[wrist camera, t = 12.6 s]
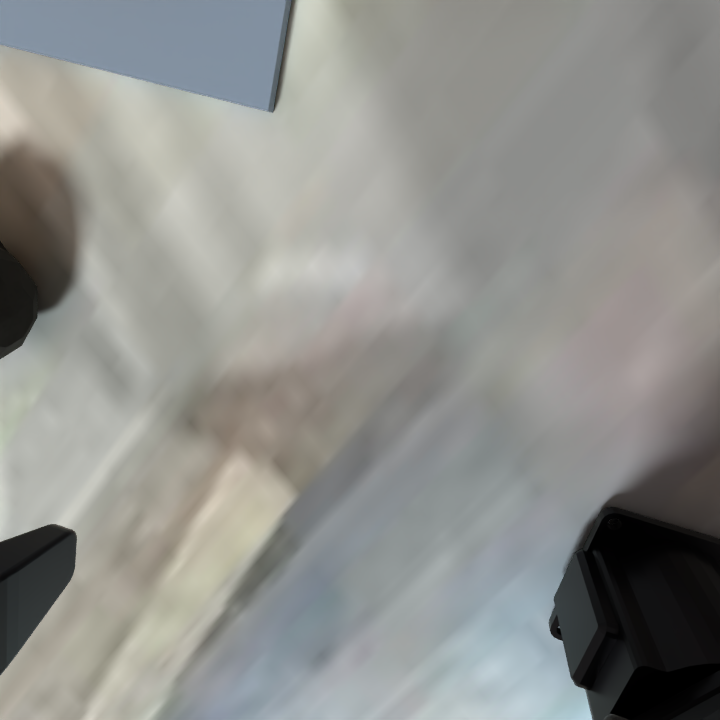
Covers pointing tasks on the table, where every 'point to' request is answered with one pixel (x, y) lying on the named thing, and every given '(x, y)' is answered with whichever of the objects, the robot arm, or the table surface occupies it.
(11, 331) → the microphone
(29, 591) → the robot arm
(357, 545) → the table surface
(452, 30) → the table surface
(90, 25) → the mat
